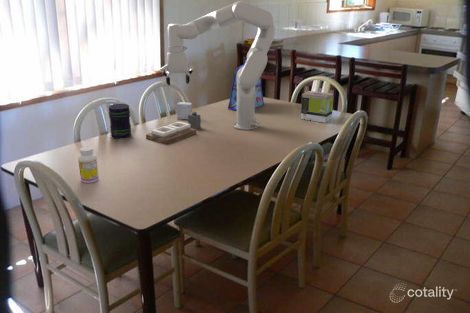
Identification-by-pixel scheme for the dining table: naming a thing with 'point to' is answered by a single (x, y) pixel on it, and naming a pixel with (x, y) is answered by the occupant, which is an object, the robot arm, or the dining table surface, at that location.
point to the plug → (194, 120)
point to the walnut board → (173, 137)
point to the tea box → (317, 106)
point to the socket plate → (170, 129)
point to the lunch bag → (233, 94)
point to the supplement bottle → (88, 165)
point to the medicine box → (184, 110)
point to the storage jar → (120, 121)
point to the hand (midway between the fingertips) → (178, 84)
